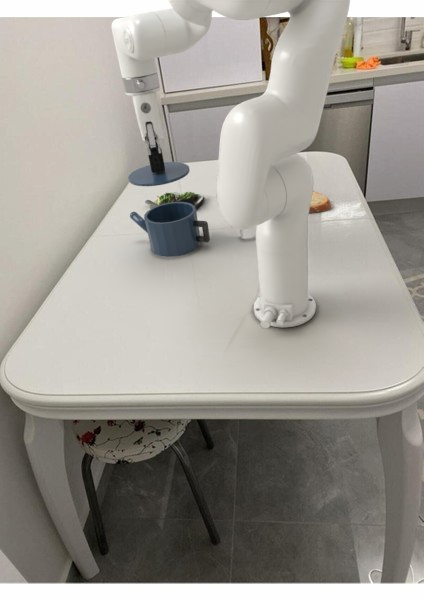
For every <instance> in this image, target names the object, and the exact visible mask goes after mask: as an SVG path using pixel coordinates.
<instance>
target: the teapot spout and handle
mask: <svg viewBox="0 0 424 600" xmlns="http://www.w3.org/2000/svg"><path fill="white" fill-rule="evenodd" d="M129 217H130V219H131V220H132V221H133V222H134V223H135V224H137V225H138V226H139V227H140V228H141V229H142V230H143V231H144V232H145V233H147V228H146V224H145V220H144V217H142V216H141V215H140V214H139V213H138V212H137V211H131V212H130V213H129ZM194 226H195V227H199V228H201V229H202V235H200V236H197V237H196V241H197V242H201V243H209V242H210V241H211V236H210V229H209V223H208V220H207V221H206V220H198V219H197V220H195V221H194Z"/></svg>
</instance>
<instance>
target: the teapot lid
mask: <svg viewBox="0 0 424 600" xmlns="http://www.w3.org/2000/svg"><path fill="white" fill-rule="evenodd" d="M161 149H162V148H161V147H160V151H161ZM147 150H148V147H147ZM147 153H148V155H149V152H148V151H147ZM158 153H159V152H158ZM151 155H152V154H151ZM164 166H165V170H164V171H160V172H154V173H153V172H152V171H151V166H150V164H149V165H145V166H142V167H140V168H138V169H135V170H133V171H132V172H131V173H130V174H129V175H128V177H127V178H128V182H129V183H130V184H131V185H133V186H136V187H157V186H162V185H167V184H171V183H174V182H177V181H179V180H181V179H184V178H185V177H186V176H188V175H189V174H190V171H191V170H190V166H189V165H188V164H186V163H184V162H178V161H164Z"/></svg>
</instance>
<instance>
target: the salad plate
mask: <svg viewBox="0 0 424 600" xmlns="http://www.w3.org/2000/svg"><path fill="white" fill-rule="evenodd" d="M156 197H157V199H156V200H154V201H152V200H150V199H146V200H144V203H145V204H146V205H148V207H147V209H148V211H149V210H150V209H152V208H153V207H156V206H158V205H161V204H166V203H171V202H186V203H191V204H192V205H194V206H195V208H196V210H197V209H199V208H200V207H201V206H202V204H203V203H204V200H205V196H204V194H202V193H201V192H192V191H186V192H184V191H172V192H164V193H163V194H161V195H160V196H159V195H157V196H156Z"/></svg>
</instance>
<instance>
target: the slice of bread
mask: <svg viewBox="0 0 424 600" xmlns="http://www.w3.org/2000/svg"><path fill="white" fill-rule="evenodd" d="M332 206H333V205H332V203H331V202H330V199H329V198H328V197H327V196H326V195H324V194H322V193H319V192H318V191H315V190H313V194H312V199H311V204H310V209H309V214H313V213H314V214H315V213H321V212H326V211H328V210H330V209H331V208H332Z"/></svg>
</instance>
